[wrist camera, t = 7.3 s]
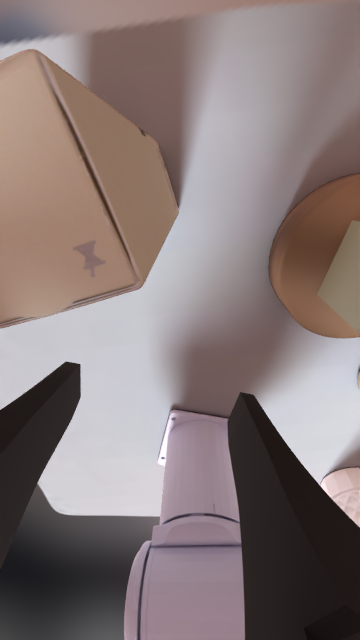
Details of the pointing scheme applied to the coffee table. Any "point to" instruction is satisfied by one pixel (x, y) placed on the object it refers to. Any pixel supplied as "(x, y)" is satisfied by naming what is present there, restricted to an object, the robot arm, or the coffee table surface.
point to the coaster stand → (314, 254)
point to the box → (72, 194)
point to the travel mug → (359, 381)
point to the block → (345, 279)
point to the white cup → (345, 491)
